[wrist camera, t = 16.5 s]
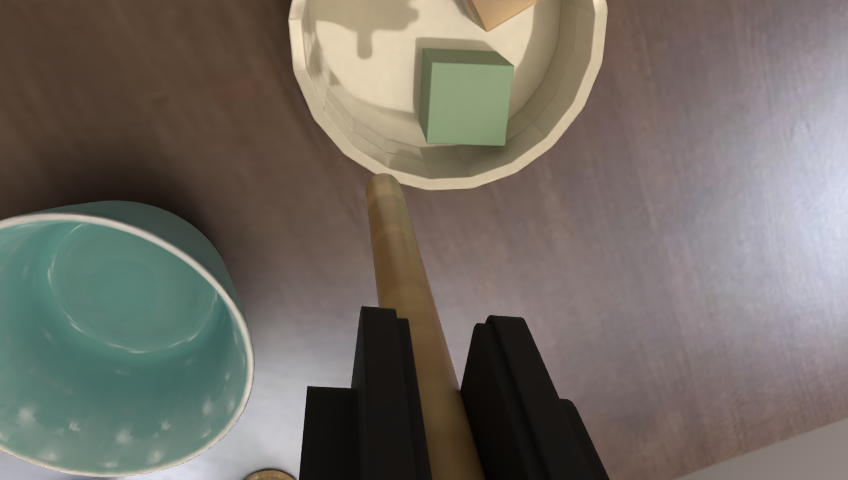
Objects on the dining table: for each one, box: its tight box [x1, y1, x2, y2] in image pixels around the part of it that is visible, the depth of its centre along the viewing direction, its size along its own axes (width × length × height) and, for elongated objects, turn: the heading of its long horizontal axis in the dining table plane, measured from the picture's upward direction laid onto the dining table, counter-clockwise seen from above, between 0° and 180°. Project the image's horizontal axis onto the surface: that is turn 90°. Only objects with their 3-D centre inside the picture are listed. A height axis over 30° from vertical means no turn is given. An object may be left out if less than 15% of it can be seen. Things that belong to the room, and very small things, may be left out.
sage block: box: [419, 48, 514, 146], centre depth 33 cm, size 4×4×4 cm
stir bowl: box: [288, 0, 608, 190], centre depth 31 cm, size 14×14×6 cm
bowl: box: [0, 200, 255, 477], centre depth 35 cm, size 16×16×8 cm
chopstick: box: [366, 173, 486, 480], centre depth 14 cm, size 1×1×18 cm
